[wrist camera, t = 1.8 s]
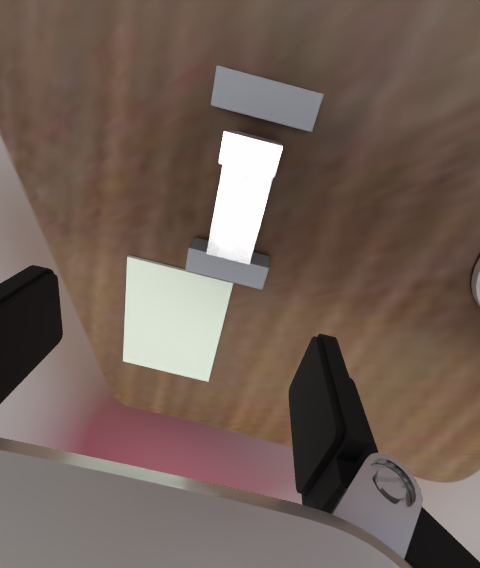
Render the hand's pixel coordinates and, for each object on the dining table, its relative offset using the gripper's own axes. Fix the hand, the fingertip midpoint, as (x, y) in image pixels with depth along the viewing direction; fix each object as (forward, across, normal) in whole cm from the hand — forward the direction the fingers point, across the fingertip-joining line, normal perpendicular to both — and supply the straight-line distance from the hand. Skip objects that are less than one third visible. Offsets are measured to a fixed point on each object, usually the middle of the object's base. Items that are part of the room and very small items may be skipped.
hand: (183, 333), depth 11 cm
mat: (+20, +4, +16) cm, 27 cm away
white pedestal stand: (+20, -1, -1) cm, 21 cm away
